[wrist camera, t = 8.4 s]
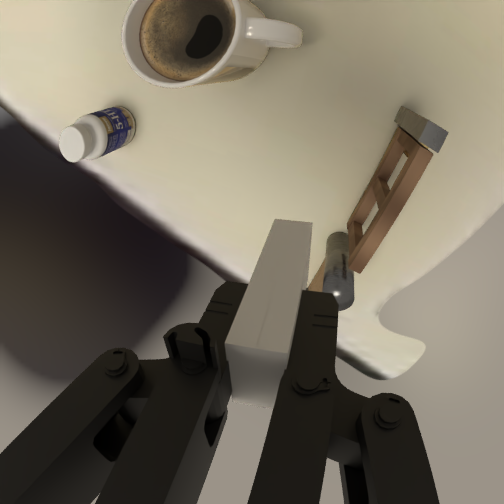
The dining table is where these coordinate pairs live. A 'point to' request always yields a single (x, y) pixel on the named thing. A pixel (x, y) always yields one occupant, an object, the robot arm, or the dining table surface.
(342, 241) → the fence
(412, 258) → the dining table surface
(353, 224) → the gate
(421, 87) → the dining table surface
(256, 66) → the mug
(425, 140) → the block
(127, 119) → the pill bottle
